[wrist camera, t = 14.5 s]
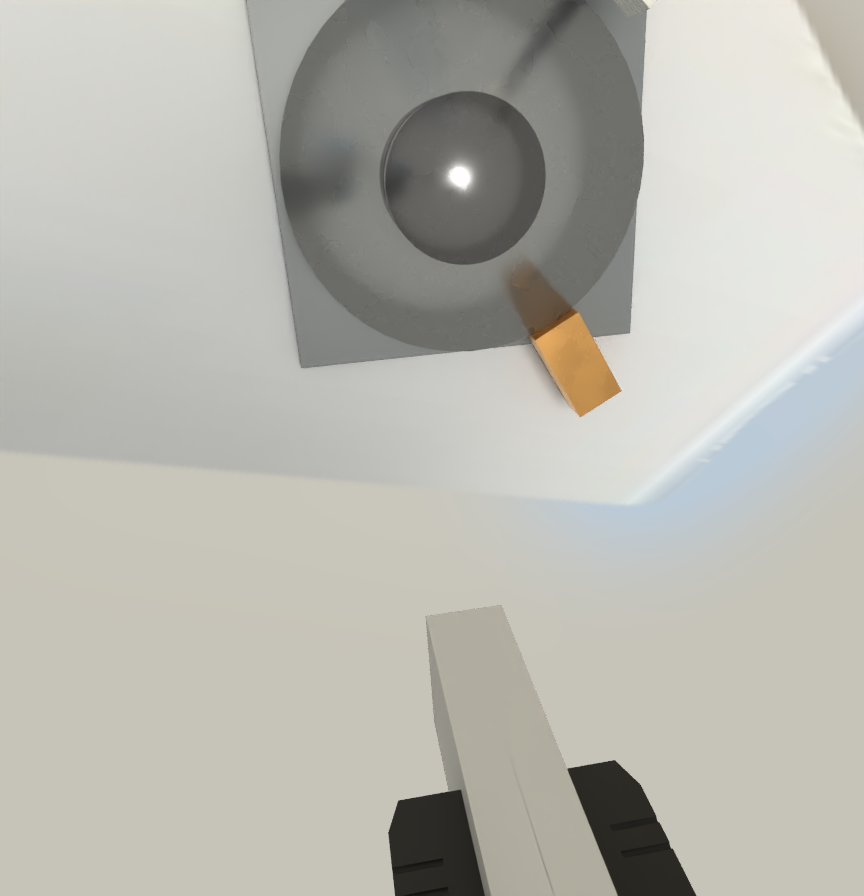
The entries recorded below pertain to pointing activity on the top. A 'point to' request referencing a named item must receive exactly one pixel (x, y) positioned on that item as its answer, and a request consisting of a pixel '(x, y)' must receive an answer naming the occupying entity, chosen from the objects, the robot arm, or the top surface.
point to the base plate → (314, 309)
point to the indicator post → (634, 6)
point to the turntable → (565, 154)
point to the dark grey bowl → (463, 177)
